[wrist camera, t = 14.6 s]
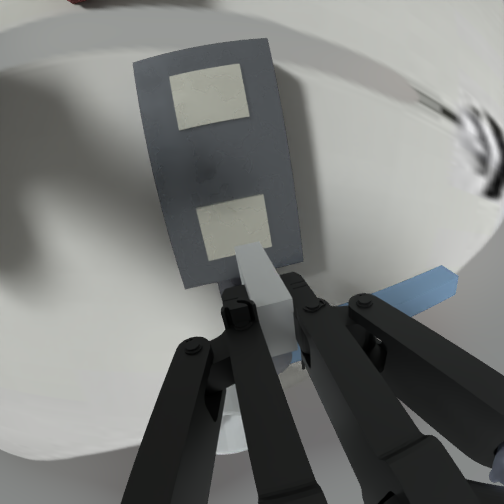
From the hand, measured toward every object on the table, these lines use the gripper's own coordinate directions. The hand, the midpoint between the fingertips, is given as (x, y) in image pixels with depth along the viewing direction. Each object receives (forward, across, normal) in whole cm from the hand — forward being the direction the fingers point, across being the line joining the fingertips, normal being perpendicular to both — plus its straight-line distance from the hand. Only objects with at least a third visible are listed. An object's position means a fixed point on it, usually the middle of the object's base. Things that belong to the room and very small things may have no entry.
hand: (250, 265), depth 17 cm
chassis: (+14, 0, +6) cm, 15 cm away
